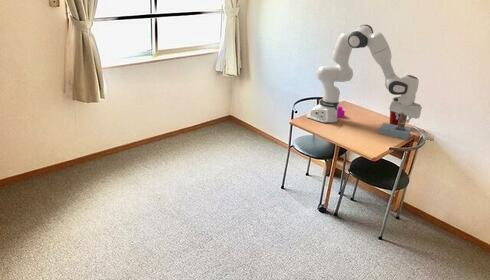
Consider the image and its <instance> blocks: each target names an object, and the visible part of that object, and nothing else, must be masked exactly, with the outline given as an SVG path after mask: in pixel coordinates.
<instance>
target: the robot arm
mask: <svg viewBox="0 0 490 280" xmlns="http://www.w3.org/2000/svg"><path fill="white" fill-rule="evenodd" d="M366 47H368V49H369V51H370V53H371V57H372V58H373V59H374V61H375V62H376V64H377V65H379V66H380V69H381V70H382V73H383V76H384V78H385V85H384V86H385V88H386V89H387V90H388V93H390V94H391V95H395V96H394V97H393V98H392V101H391V102H390V105H389V108H388V109H389V112H390V111H393V112H396V119H397V120H399V118H400V117H399V115H398V114H401V113H404V115H406V116H407V118H408V119H406V124H409V123H410V121H411V119H415V120H416V119H419V118H421V114H422V113H421V112H422V105H421V104H420V103H416V102H415V101H416V93H417V92H418V89H419V83H420V81H419V79H418V77H416V76H415V75H411V74H407V75H405V76H403V77H399V76H397V74H396V73H395V70H394V68H393V66H392V62H391V60H392V57H393V55H392V51H391V48H390V46H389V43H388V41H387V39H386V37H385V36H384V35H383V33H382V32H378V31H377V32H374V29H373V27H372V26H371V25H370V24H362V25H360V26H358V27H357V28H355V29H354V30H353V31H352V32H349V31H347V32H342V33H340V35H339V36H338V38H337V40H336V43H335V46H334V49H333V51H332V52H333V53H332V56H331V58H332V60H333V61H334V62H335V63H336V65H321V66H319V67H318V69H317V71H316V77H317V79H318V80H319V82H321V84H322V85H323V86H322V87H323V94H322V95H323V96H322V98H321V99H319V103H318V104H317V105H315V106H313V107H312V108H311V109H310V111H309V112H308V113H307V114H306V116H305V117H306V118H307V119H311V120H314V121H318V122H321V123H337V122H338V117H337V109H338V106H340V104H339V103H340V100H339V99H340V94H341V91H340V89H339V87H337V86H335V82H336V83H337V82H338V83H344V82H345V83H346V82H350V81H351V80H352V79H353V77H354V71H353V69H352V68H351V67H350V65H349V59H350V56H351V52H352V50H353V49H361V48H366ZM398 95H399V96H398Z"/></svg>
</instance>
